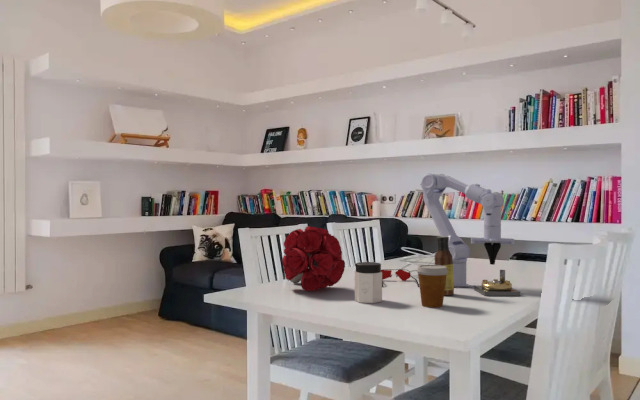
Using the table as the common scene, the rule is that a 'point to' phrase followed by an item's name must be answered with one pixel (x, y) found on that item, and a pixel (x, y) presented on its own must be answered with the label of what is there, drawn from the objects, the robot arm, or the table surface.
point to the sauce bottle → (445, 262)
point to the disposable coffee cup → (432, 284)
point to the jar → (368, 282)
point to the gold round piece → (497, 283)
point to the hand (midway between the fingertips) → (492, 264)
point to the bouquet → (312, 258)
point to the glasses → (397, 274)
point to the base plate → (497, 292)
